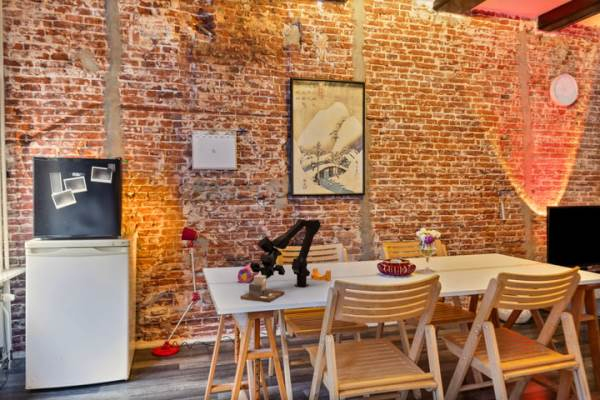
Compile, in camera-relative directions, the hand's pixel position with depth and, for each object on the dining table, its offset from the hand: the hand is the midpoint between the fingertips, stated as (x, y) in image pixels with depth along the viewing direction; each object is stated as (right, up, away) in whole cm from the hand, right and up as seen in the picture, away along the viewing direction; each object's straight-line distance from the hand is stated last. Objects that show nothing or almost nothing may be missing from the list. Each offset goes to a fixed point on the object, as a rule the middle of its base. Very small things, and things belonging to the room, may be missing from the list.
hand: (262, 282), depth 224 cm
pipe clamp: (+32, -7, +41) cm, 53 cm away
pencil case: (-11, -6, +39) cm, 41 cm away
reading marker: (+2, -5, -7) cm, 9 cm away
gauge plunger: (+1, -5, -3) cm, 6 cm away
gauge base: (0, -7, -1) cm, 7 cm away
